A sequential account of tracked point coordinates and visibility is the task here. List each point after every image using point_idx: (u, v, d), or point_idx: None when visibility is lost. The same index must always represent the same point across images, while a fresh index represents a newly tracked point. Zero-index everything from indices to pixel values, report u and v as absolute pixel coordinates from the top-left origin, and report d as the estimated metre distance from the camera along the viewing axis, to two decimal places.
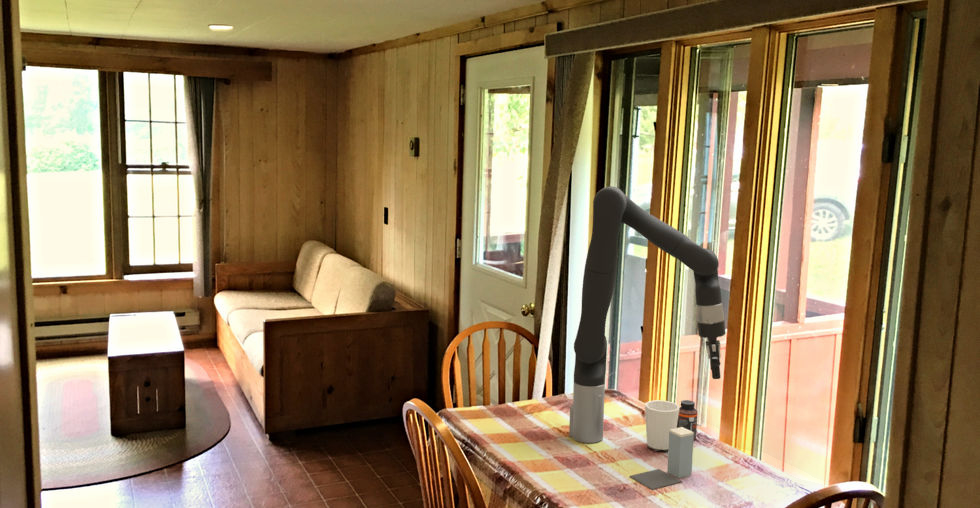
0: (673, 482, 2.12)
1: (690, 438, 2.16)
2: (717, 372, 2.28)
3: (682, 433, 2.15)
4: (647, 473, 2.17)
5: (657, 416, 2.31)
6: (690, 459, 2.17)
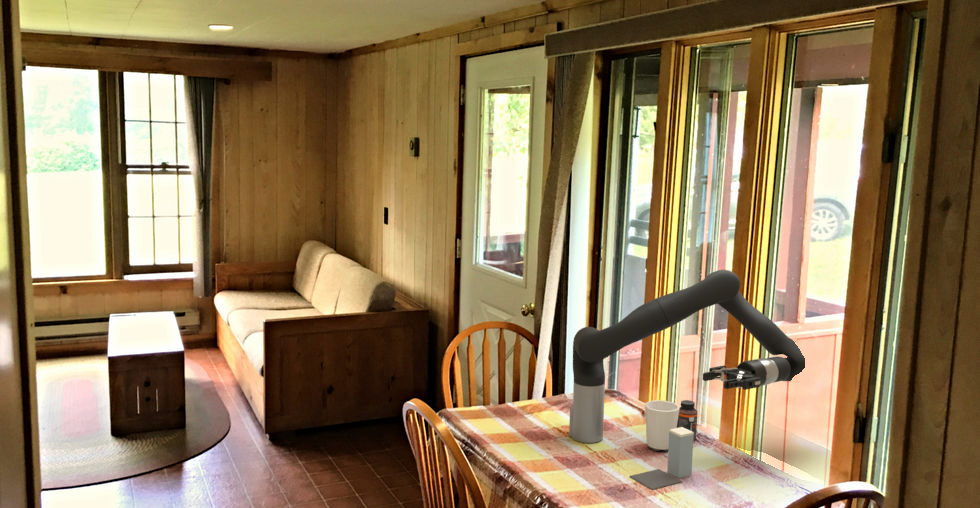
0: (673, 482, 2.12)
1: (690, 438, 2.16)
2: (733, 386, 2.17)
3: (682, 433, 2.15)
4: (647, 473, 2.17)
5: (657, 416, 2.31)
6: (690, 459, 2.17)
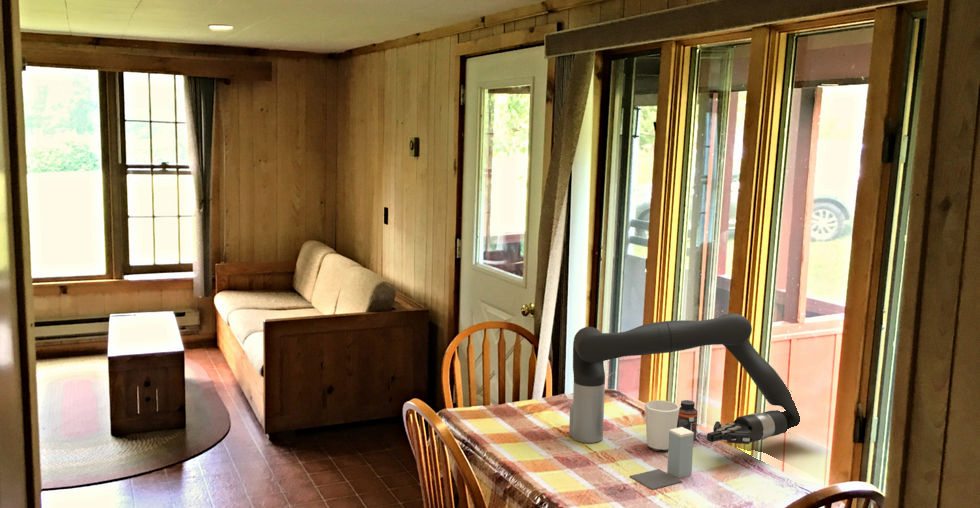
0: (673, 482, 2.12)
1: (690, 438, 2.16)
2: (718, 439, 2.22)
3: (682, 433, 2.15)
4: (647, 473, 2.17)
5: (657, 416, 2.31)
6: (690, 459, 2.17)
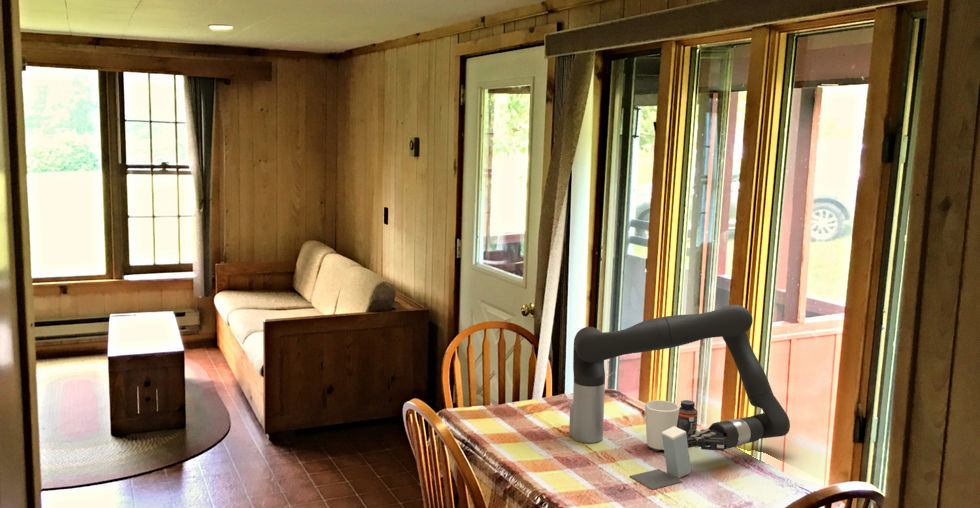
0: (673, 482, 2.12)
1: (683, 438, 2.14)
2: (691, 446, 2.17)
3: (674, 435, 2.14)
4: (647, 473, 2.17)
5: (657, 416, 2.31)
6: (687, 457, 2.16)
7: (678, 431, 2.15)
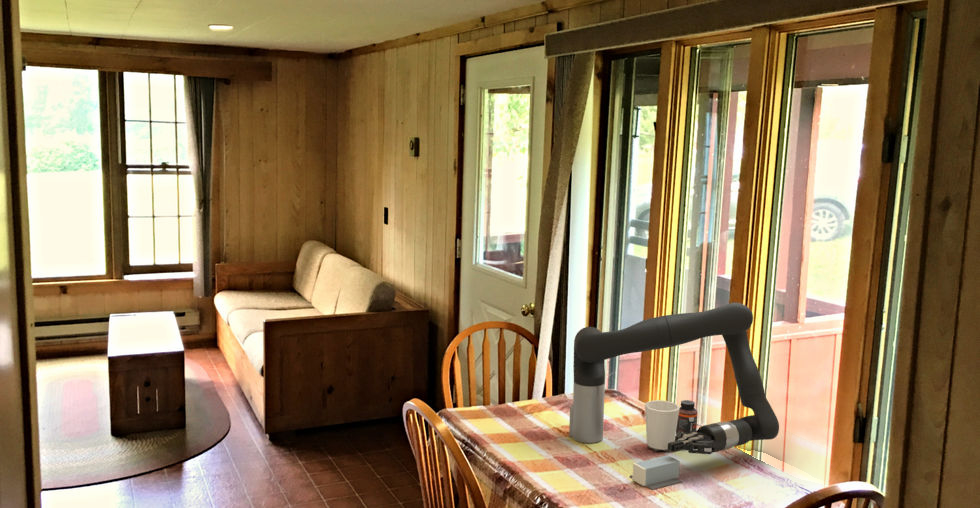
0: (673, 482, 2.12)
1: (648, 472, 2.10)
2: (679, 449, 2.15)
3: (641, 480, 2.10)
4: None
5: (657, 416, 2.31)
6: (666, 466, 2.13)
7: (640, 472, 2.10)
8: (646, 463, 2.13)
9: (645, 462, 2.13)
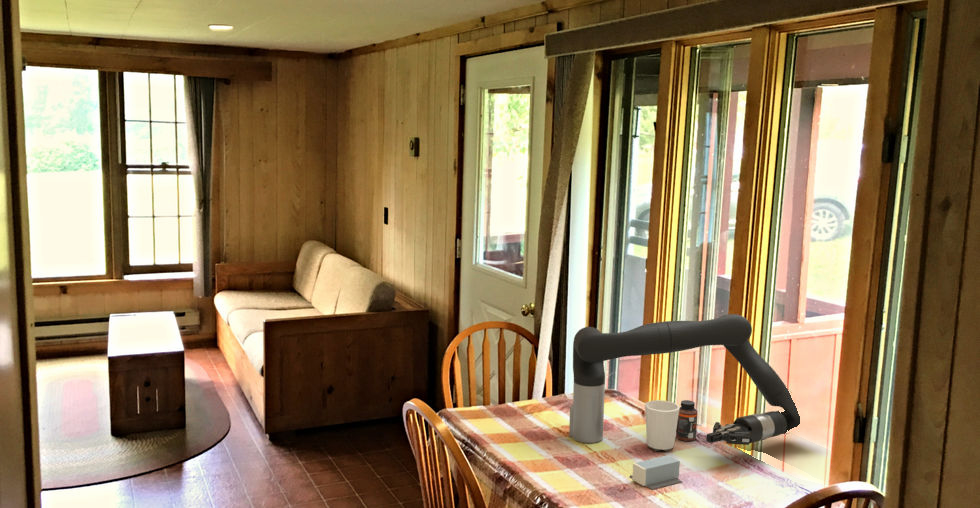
0: (673, 482, 2.12)
1: (648, 472, 2.10)
2: (717, 440, 2.22)
3: (641, 480, 2.10)
4: None
5: (657, 416, 2.31)
6: (666, 466, 2.13)
7: (640, 472, 2.10)
8: (646, 463, 2.13)
9: (645, 462, 2.13)
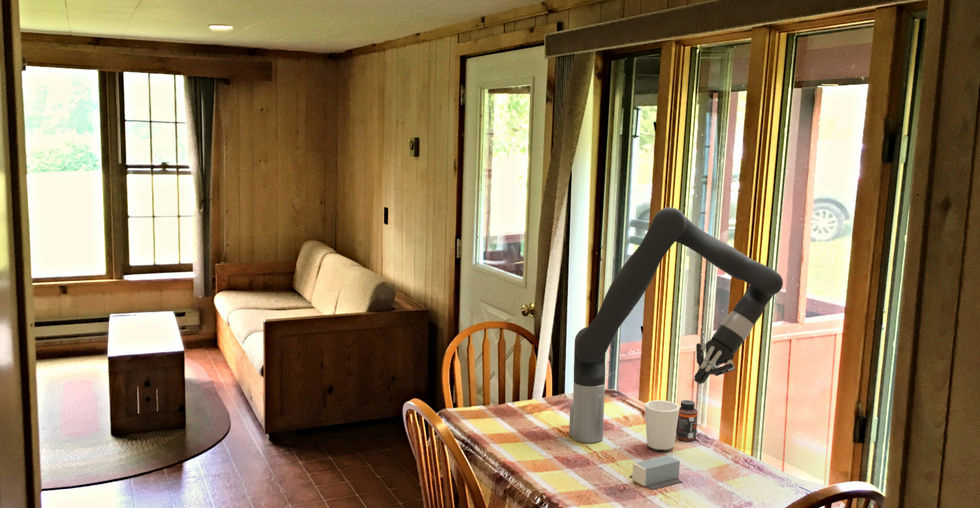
0: (673, 482, 2.12)
1: (648, 472, 2.10)
2: (705, 379, 2.24)
3: (641, 480, 2.10)
4: None
5: (657, 416, 2.31)
6: (666, 466, 2.13)
7: (640, 472, 2.10)
8: (646, 463, 2.13)
9: (645, 462, 2.13)
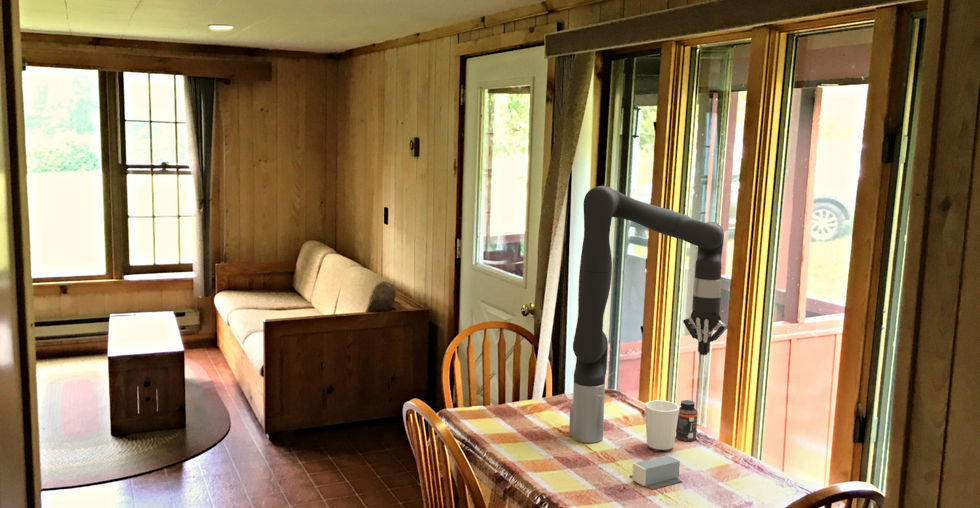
0: (673, 482, 2.12)
1: (648, 472, 2.10)
2: (709, 348, 2.28)
3: (641, 480, 2.10)
4: None
5: (657, 416, 2.31)
6: (666, 466, 2.13)
7: (640, 472, 2.10)
8: (646, 463, 2.13)
9: (645, 462, 2.13)
